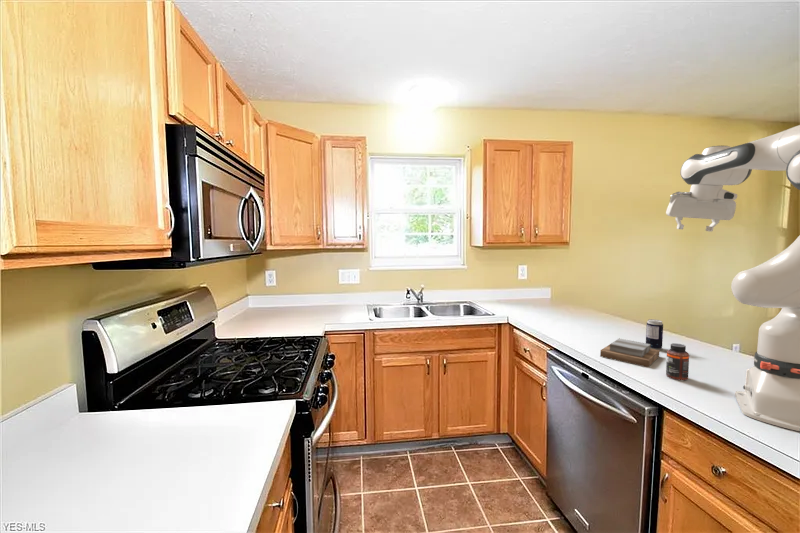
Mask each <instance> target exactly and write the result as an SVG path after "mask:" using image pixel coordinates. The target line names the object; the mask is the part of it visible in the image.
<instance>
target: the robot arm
mask: <svg viewBox="0 0 800 533" xmlns="http://www.w3.org/2000/svg"><path fill="white" fill-rule="evenodd" d="M752 170H756V171H757V170H758V171H773V172H775V171H776V172H777V171H779V172H782V171H783V172H784V171H785V174H786V175H785V176H786V179H787V181H789V183H790V184H791V185H792V186H793V187H794V188H795V189H797V190H799V191H800V124H799V125H796V126H793V127H790V128H788V129H784V130H782V131H780V132H777V133H775V134H770V135H768V136H766V137H762V138H759V139H756V140H752V141H749V142H745V143H741V144H739V145H735V146H734V145H733V146H728V145H712V146H708V147H706V148H704V150H702V152H701V153H696V154H693V155H692V156H690V157H689V158H688V159H686V160H685V161H684V162H683V163H682V164H681V168H680V178H681V179H682V180H683V181H684V183H686V184H687V185H691V186H690V188H689V191H676V192H674V193H672V194H671V195H670V197H669V203H668V206H666V211H665V215H666V216H668V217H671V218H674V217H675V219H674V220H675V222H676V224H677V225H676V230H684V227H685V225H684V224H683V223H682V221H683V218H689V219H701V220H711V222H712V223H710V224H709V225H706V227H705V231H706V232H711V233H712V232H713V230H714V228H715V227H716V226H717V225H718V224H719V223H720V221H731V220H732V219H733V218H734V216H735V213H736V209H737V202H736V200H737V198H738V194H737V193H735V192H732V191H728V190H726V189H724V188H723V187H724V186H735V185H736V186H737V185H741V184H742V183H744V182H746V181H747V179H748V178H749V177H750V176H751V174H752ZM730 286H731V287H730V288H731V292H732V294H733V297H734V298H735V299H736V300H737V301H738V302H739V303H741V304H743V305H748V306H752V307H757V308H758V307H759V308H764V309H765V308H767V309H777V308H778V309H781V310H780V311H779V313H778V314H777V315H776V316H774V317H772V319H768V320H767V321H765V322H763V323H761V325H760V326H759V328H758V334H757V348H756V351H755V352H754V355H753V366H752V367H750V368H748V369H747V368H746V376H745V384H744V385H743V387H742V388H743V390H744V391H738V390H737V391H735V392H734V397H735V399H736V401H737V403H738V406H739V408H740V411H741V413H742V415H744V416H747V417H749V418H752V419H754V420H758V421H760V422H764V423H766V424H769V425H774V426H777V427H780V428H785V429H787V430H791V431H796V432H800V234H799V236H797V238H796V239H795V240H794V241H793V242H792V243H791V244H790V245H788V247H786V248H785V249H783V250H781V252H779V253H777V254H776V255H775V256H773V257H771V258H769V259H768V260H766V261H764V262H762V263H760V264H758V265H756V266H754V267H751V268H748V269H745V270H741V271H739V272H737V273H736V275H735V276H734V277H733V279H732V280H731V283H730Z"/></svg>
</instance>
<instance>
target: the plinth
mask: <svg viewBox="0 0 800 533" xmlns="http://www.w3.org/2000/svg"><path fill="white" fill-rule="evenodd" d="M650 345H651V344H647V343H646V342H641V341H634V340H631V339H624V338H620V337H619V338H617V339H616V340H614V341H613V342H611V343H609V344H608V345H607V346H605V347H604V348H602V349H600V356H599V357H601V356H603V357H602V358H605V357H607V358H606V359H610V358H612V359H611V360H614V359H616V360H615V361H619V360H620V361H619V362H623V363H627V364H633V365H637V366H641V367H646V368H649V367H650V366H651V365H653V363H654V362H655V361H656V360H658V359H659V358H660V350H661V349H660V350H655V349H650Z"/></svg>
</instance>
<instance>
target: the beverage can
mask: <svg viewBox="0 0 800 533" xmlns="http://www.w3.org/2000/svg"><path fill="white" fill-rule="evenodd" d="M663 338H664V323H663V321H662V320H660V319H656V318H655V319H650V318H649V319H648V320H647V322H646V328H645V343H647V344H651V345H650V349H655V350H661V349H662V348H663Z"/></svg>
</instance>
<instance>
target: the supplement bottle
mask: <svg viewBox="0 0 800 533" xmlns="http://www.w3.org/2000/svg"><path fill="white" fill-rule="evenodd" d="M686 346H687V345H685V344H681V343H673V342H672V343H670V348H669V349H668V350H667V351H666V363H665V364H666V365H665V375H666V377H667V378H670V379H672V380H675V381H687V380H688V379H689V374H690V373H689V372H690V371H689V366H690V354H689V352H688V351H686V348H687V347H686Z"/></svg>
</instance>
